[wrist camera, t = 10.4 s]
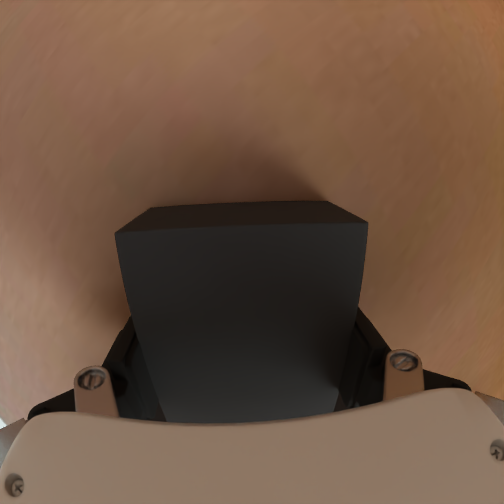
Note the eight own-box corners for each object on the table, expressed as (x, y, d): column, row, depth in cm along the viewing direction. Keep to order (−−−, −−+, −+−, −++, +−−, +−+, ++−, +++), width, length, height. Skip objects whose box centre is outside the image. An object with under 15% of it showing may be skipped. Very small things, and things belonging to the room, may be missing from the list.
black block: (328, 200, 11) (369, 222, 7) (305, 412, 15) (318, 458, 11) (149, 207, 10) (113, 232, 7) (191, 418, 14) (186, 466, 11)
